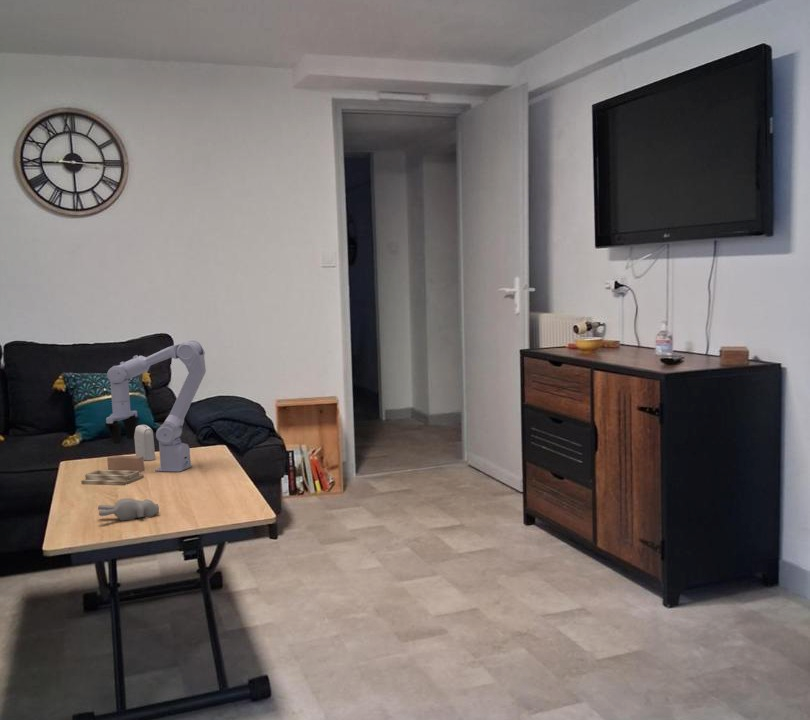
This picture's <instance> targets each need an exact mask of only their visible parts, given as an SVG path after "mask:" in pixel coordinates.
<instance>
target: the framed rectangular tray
mask: <svg viewBox="0 0 810 720" xmlns="http://www.w3.org/2000/svg"><path fill="white" fill-rule="evenodd" d="M84 477H85V479H82V480H80V482H81V484H82V483H83V484H82V485H107V486H112V485H113V486H126V484H127V485H128V484H132V483H134V482H136V481H138V480H141V479H143V478H144V474H142V473H141V474H140V472H139V471H121V470H108V469H98V470H94V471H91V472H88V473H86V474H85V476H84ZM131 482H132V483H131Z"/></svg>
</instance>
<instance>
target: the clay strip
mask: <svg viewBox="0 0 810 720" xmlns="http://www.w3.org/2000/svg"><path fill="white" fill-rule="evenodd" d="M106 461H107V470H121V471H139V473H142V472H145V464H144V463H145V460H144V459H143V456H136V455H130V456H129V455H111V456H108V457H107V458H106Z"/></svg>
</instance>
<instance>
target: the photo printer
mask: <svg viewBox="0 0 810 720" xmlns="http://www.w3.org/2000/svg"><path fill="white" fill-rule="evenodd" d="M154 438H155V437H154V431H153V429H152V428H151V427H150V426H149V425H147V424H139V425H138V424H137V426H136V429H135V434H134V439H133V440H134V451H135V456H143V459H144V461H154V460H155V459H156V452H155V440H154Z"/></svg>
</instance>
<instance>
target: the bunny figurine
mask: <svg viewBox="0 0 810 720" xmlns="http://www.w3.org/2000/svg"><path fill="white" fill-rule="evenodd" d="M97 510H98V516H100V517H104V516H105V517H106V516H110V515H114V516H115V517H116V518H118V519H119V520H120V521H121V522H123V520H124V521H131V520H132V519H133V520H134V519H137V518H145V517H148V518H152V517H154V516H155V515H156V514H159V512H160V506H159V504H158V503H155V502H153V501H152V500H151V499H144V500H139V499H137V500H136V499H134V498H128V497H127V498H120V499H119V500H117V502H115V504H114V505H108V504H99V505H98V506H97Z"/></svg>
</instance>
